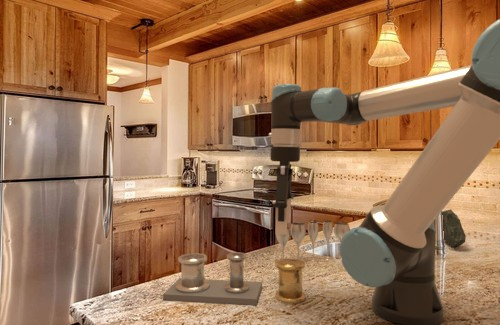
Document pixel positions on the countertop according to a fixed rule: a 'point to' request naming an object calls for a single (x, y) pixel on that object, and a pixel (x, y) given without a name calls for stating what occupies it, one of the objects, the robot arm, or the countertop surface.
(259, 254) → the countertop surface
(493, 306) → the countertop surface
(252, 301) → the plate
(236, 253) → the narrow pipe stub
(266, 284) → the countertop surface
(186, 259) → the wide pipe stub
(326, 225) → the goblet set
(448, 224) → the rock
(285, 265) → the gold flared knob
